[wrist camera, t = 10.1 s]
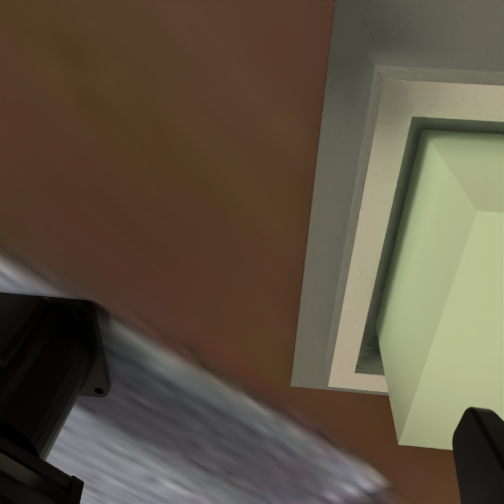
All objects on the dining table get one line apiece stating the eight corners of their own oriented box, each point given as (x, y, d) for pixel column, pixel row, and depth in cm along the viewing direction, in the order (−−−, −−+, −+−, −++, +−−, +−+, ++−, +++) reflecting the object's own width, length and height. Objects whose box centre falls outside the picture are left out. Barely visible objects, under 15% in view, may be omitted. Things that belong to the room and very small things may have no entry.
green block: (573, 138, 15) (702, 226, 10) (489, 335, 20) (550, 459, 15) (422, 129, 16) (477, 211, 11) (375, 325, 21) (398, 444, 16)
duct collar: (529, 401, 23) (552, 445, 21) (290, 378, 24) (289, 419, 22) (757, -11, 13) (842, -4, 11) (337, -28, 14) (343, -25, 12)
